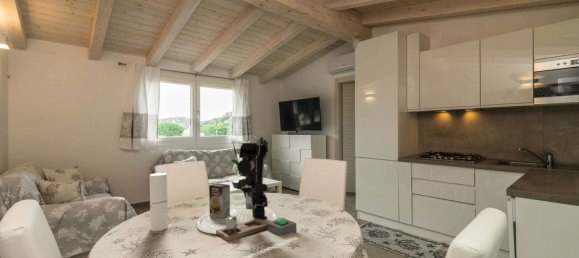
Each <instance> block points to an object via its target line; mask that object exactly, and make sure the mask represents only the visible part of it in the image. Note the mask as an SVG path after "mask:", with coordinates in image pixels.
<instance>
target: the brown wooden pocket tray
mask: <svg viewBox="0 0 579 258" xmlns="http://www.w3.org/2000/svg"><path fill="white" fill-rule="evenodd" d="M266 229H267V223H265V222H263V221H261V220H258V219H257V218H254V219H250V220H248V221H247V220H246V221H243V222H240V223H237V233H234V234H231V235H227V234H226V227H223V228H220V229H216V232H215V234H216V235H217V236H219V237H220V238H222V239H223V240H225V241H227V242H230V241H233V240H236V239H239V238H241V237H246V236H249V235H251V234H254V233H258V232H260V231H263V230H266Z"/></svg>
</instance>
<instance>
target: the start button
mask: <svg viewBox="0 0 579 258" xmlns="http://www.w3.org/2000/svg"><path fill="white" fill-rule="evenodd" d="M286 219H287V218H285V217H279V218H277V219H276V220H277V224H278V225H280V226H282V225H285V224H286Z"/></svg>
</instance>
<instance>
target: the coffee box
mask: <svg viewBox="0 0 579 258" xmlns="http://www.w3.org/2000/svg"><path fill="white" fill-rule="evenodd" d="M208 186H209V187H208V188H209V189H208V190H209V193H208V194H209V195H208V197H209V216H210V217H216V218H221V219H223V218H226V217H229V216H231V185H230V184H227V183H219V182H217V183H212V184H209V185H208Z"/></svg>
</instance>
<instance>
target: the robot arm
mask: <svg viewBox="0 0 579 258" xmlns="http://www.w3.org/2000/svg"><path fill="white" fill-rule="evenodd" d="M269 152H270V145H269V142H268V141H267V140H266V139H264V137H263V136H253V137H252V139H250V140H249V141H243V142H242V143H241V145H240V150H239V154H238V155H239V156H238V158H239V159H241V160H240V161H238V163H237V170H238V172H240V174H241V176H239V177H238V176H237V178H235V179H233V180H231V183H232V186H233V187H232V188H234V189H236V190H240V191H242V192H243V195H244V198H245V200H246V192H248V191H249V193H250V194H251V196H252V204H253V206H255V205H256V208H255V209H251V212H252V218H254V219H260V220H264V219H267V218H268V217H267V216H266V211H265V210H266V209H265V208H267V207H268V206H269V205H268V204H269V203H268V197H267V194H266V192H268V190H269V186H268V185H267V184H266V183H264V171H265V161H266V159H267V158H268V156H269Z"/></svg>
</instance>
